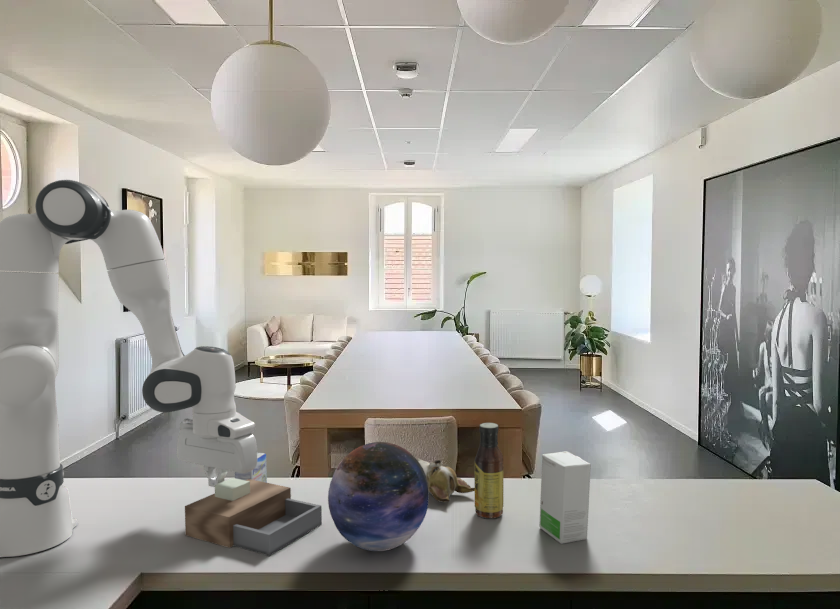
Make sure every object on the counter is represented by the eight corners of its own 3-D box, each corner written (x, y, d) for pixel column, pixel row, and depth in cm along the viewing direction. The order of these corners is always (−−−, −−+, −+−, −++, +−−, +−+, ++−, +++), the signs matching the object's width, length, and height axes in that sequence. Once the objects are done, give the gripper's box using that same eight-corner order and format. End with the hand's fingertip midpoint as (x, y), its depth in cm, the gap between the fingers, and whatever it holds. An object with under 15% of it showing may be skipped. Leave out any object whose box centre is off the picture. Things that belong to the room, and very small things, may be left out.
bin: (233, 545, 120) (233, 525, 120) (288, 516, 134) (287, 498, 134) (269, 555, 116) (269, 534, 116) (321, 524, 130) (321, 505, 130)
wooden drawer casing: (185, 535, 125) (184, 506, 124) (249, 504, 141) (248, 478, 140) (229, 547, 119) (229, 517, 119) (291, 514, 135) (290, 487, 135)
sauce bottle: (478, 507, 139) (478, 419, 138) (506, 510, 137) (506, 421, 136) (470, 518, 133) (471, 426, 132) (499, 522, 131) (500, 429, 129)
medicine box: (252, 499, 144) (251, 462, 143) (234, 498, 145) (233, 461, 144) (267, 487, 152) (266, 452, 151) (250, 486, 153) (249, 451, 152)
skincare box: (538, 528, 128) (539, 453, 127) (566, 523, 130) (566, 450, 129) (562, 545, 120) (563, 465, 119) (590, 539, 122) (591, 461, 121)
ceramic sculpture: (433, 447, 155) (479, 464, 144) (432, 480, 156) (477, 500, 145) (401, 457, 147) (447, 476, 137) (400, 492, 148) (446, 513, 138)
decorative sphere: (307, 557, 115) (306, 451, 114) (363, 518, 133) (363, 426, 132) (398, 580, 107) (398, 465, 105) (445, 535, 125) (445, 436, 123)
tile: (214, 496, 129) (214, 484, 129) (232, 489, 134) (232, 477, 134) (232, 500, 127) (232, 488, 127) (250, 493, 131) (249, 481, 131)
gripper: (168, 420, 134) (170, 483, 135) (239, 431, 124) (241, 499, 125) (191, 414, 140) (193, 474, 140) (261, 424, 130) (262, 489, 131)
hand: (216, 486), depth 133 cm, fingers closed
